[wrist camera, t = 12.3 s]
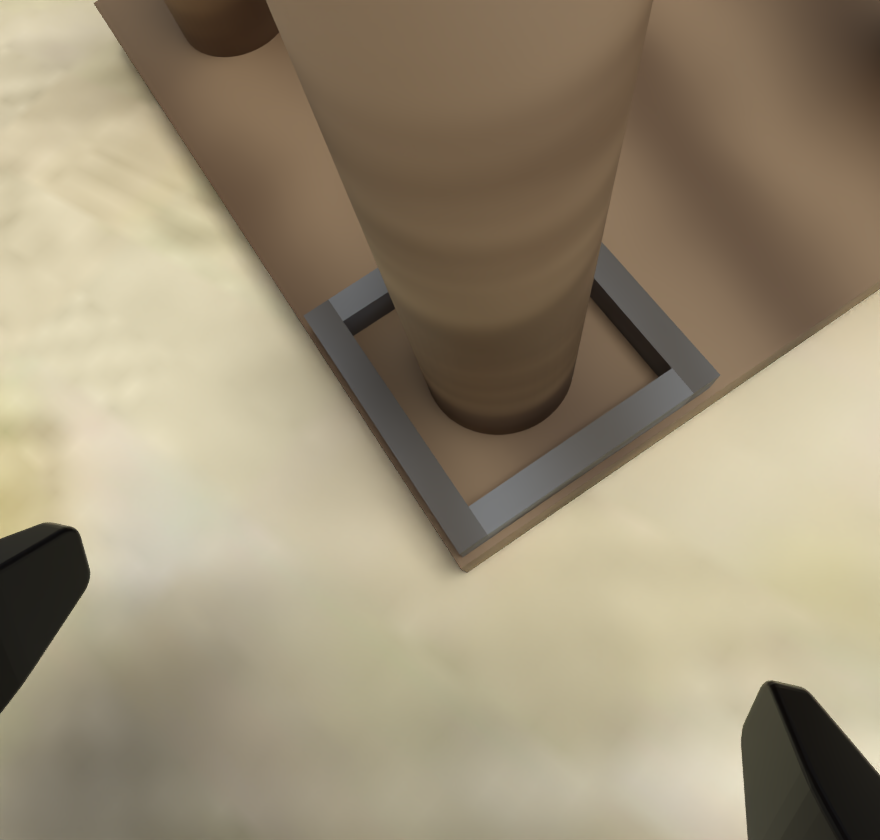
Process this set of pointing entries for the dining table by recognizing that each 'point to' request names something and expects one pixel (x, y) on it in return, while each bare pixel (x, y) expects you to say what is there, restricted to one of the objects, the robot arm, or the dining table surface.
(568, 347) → the stool leg
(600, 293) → the peg board
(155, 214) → the dining table surface
